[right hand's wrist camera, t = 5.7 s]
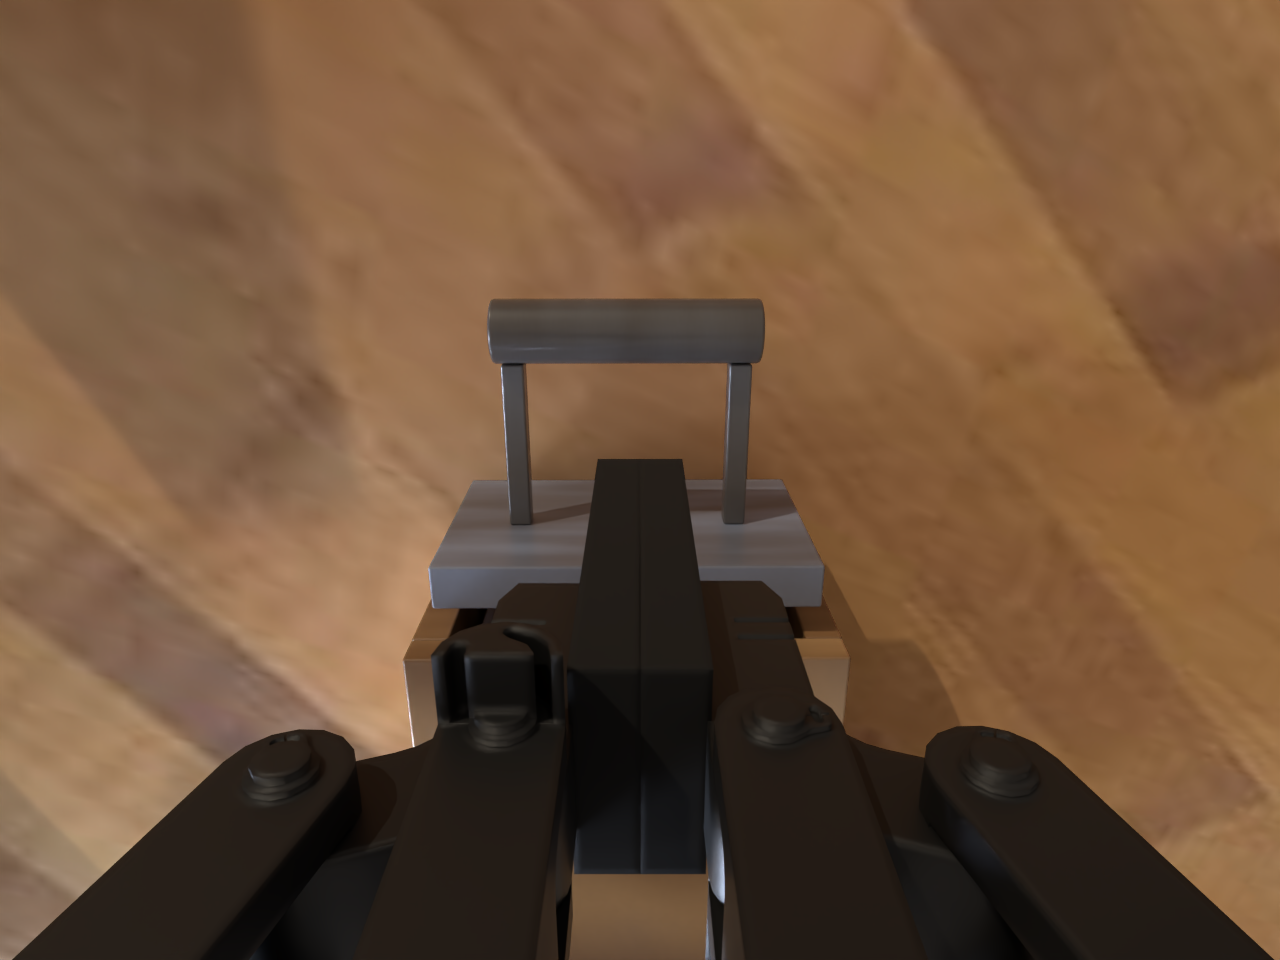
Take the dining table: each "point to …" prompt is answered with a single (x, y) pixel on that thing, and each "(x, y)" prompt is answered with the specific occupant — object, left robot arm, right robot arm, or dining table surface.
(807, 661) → the cabinet
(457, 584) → the drawer
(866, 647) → the dining table surface
